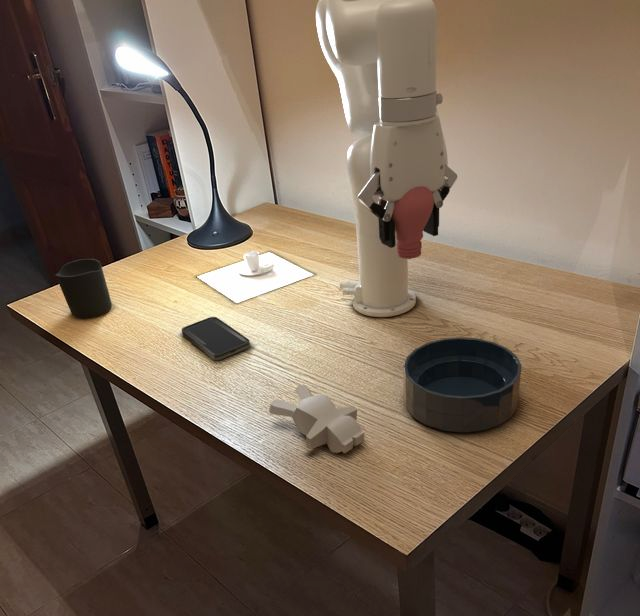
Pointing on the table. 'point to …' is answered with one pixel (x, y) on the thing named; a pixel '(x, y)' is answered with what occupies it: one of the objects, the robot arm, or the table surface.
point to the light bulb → (412, 220)
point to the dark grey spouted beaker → (84, 288)
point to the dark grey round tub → (461, 384)
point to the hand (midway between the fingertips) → (409, 238)
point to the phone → (215, 338)
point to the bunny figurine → (321, 421)
